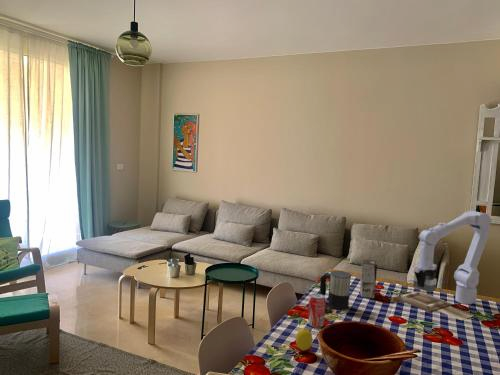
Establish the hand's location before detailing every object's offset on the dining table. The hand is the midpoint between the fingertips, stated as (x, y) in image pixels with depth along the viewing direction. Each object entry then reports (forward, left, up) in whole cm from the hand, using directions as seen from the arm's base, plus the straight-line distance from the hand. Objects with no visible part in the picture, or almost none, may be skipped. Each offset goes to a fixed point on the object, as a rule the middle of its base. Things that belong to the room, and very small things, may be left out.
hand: (423, 285), depth 183 cm
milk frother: (+41, -17, -9) cm, 45 cm away
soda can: (+60, -7, -9) cm, 61 cm away
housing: (0, 0, -1) cm, 1 cm away
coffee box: (+13, -21, -9) cm, 26 cm away
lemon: (+78, +6, -9) cm, 79 cm away
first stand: (-1, +15, -9) cm, 18 cm away
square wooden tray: (0, 0, -9) cm, 9 cm away
